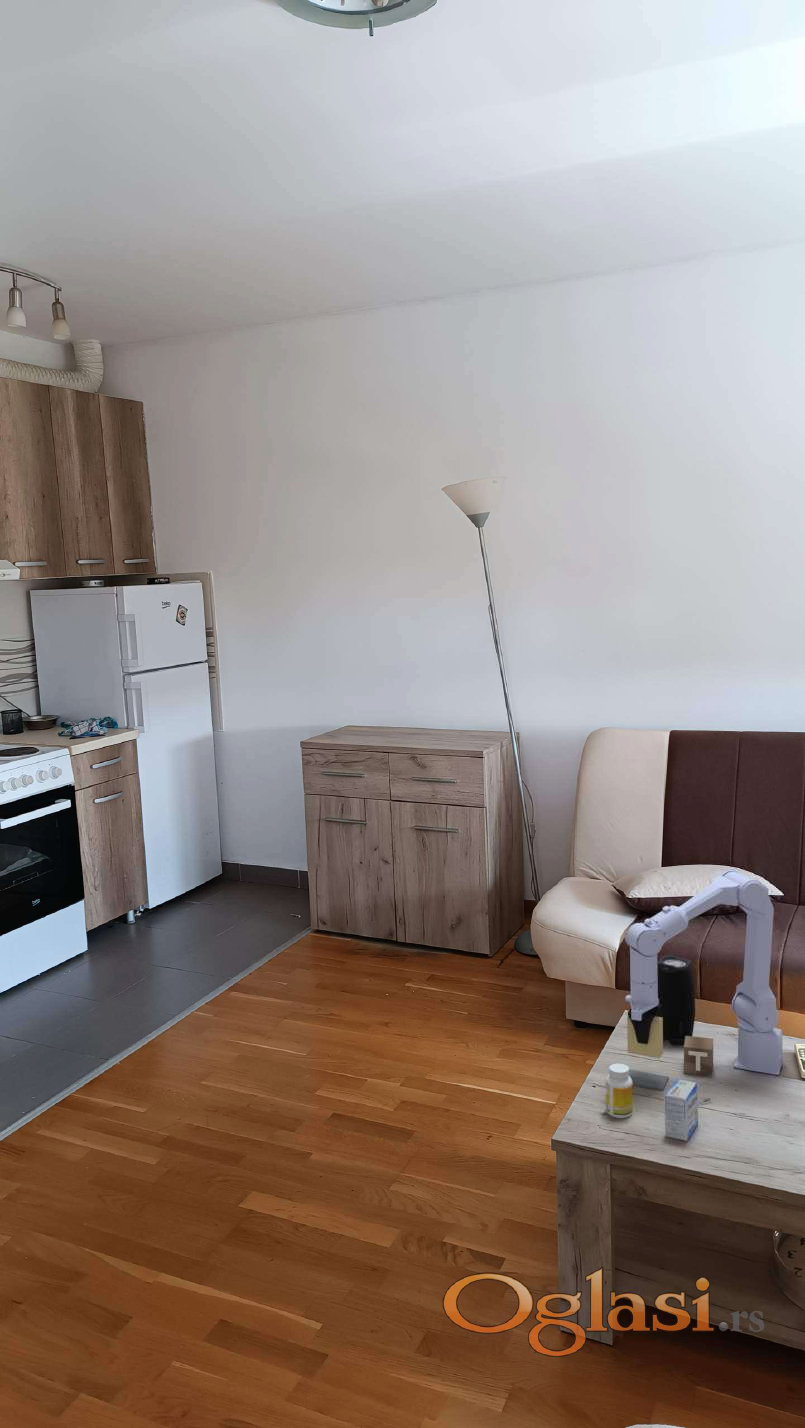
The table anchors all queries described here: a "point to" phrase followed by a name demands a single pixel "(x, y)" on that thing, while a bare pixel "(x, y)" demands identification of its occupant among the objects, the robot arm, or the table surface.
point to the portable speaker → (676, 998)
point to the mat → (648, 1080)
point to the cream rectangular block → (654, 1043)
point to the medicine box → (681, 1109)
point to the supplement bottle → (619, 1091)
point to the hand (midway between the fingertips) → (644, 1039)
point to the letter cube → (698, 1055)
